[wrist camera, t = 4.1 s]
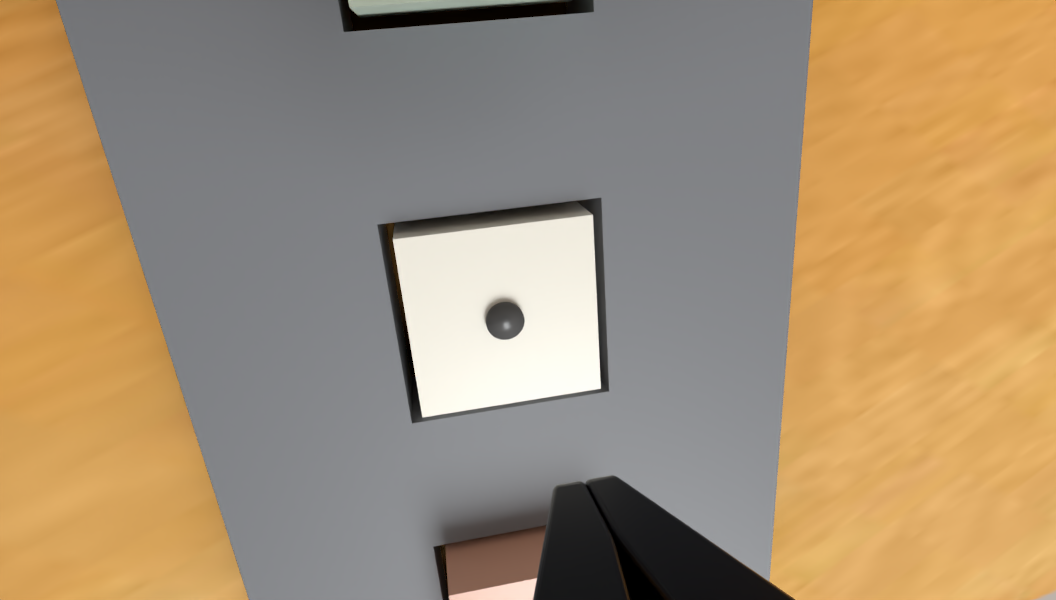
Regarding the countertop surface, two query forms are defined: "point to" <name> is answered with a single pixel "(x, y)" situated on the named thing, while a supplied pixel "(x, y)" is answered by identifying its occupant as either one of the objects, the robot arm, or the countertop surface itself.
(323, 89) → the button board
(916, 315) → the countertop surface
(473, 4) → the two-dot button
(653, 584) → the robot arm
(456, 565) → the three-dot button
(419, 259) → the one-dot button
